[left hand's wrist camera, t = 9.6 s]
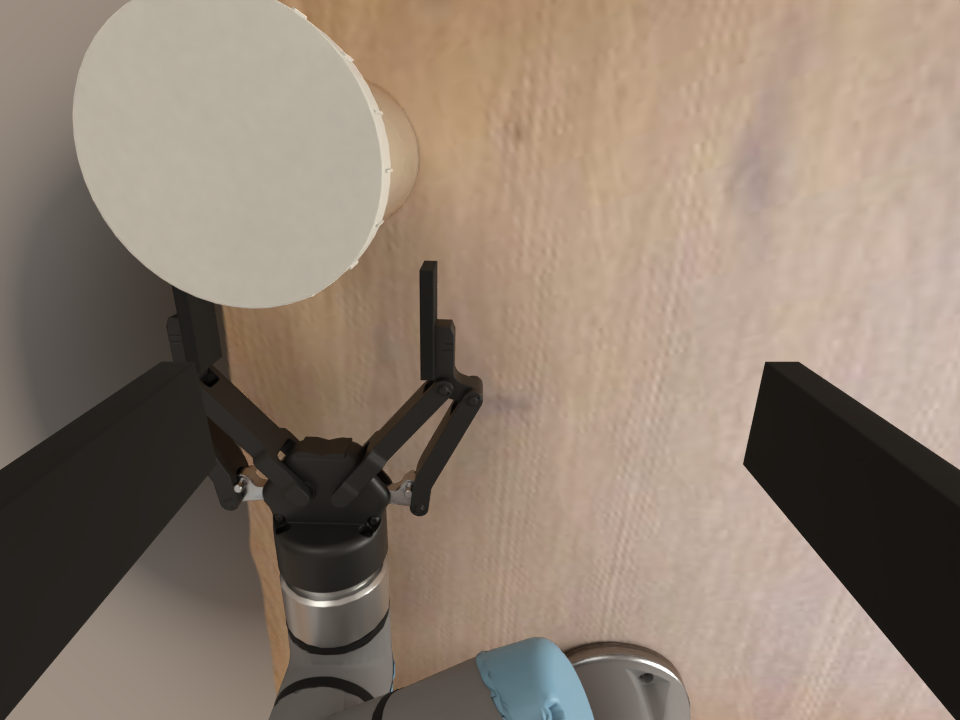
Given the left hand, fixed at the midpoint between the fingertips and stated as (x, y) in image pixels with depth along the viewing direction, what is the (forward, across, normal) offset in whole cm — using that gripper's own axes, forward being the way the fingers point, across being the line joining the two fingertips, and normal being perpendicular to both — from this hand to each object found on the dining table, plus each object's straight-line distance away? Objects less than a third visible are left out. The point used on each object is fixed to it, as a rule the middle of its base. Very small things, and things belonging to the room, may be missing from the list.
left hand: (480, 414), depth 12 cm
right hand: (+19, +10, 0) cm, 21 cm away
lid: (+8, +8, -5) cm, 13 cm away
